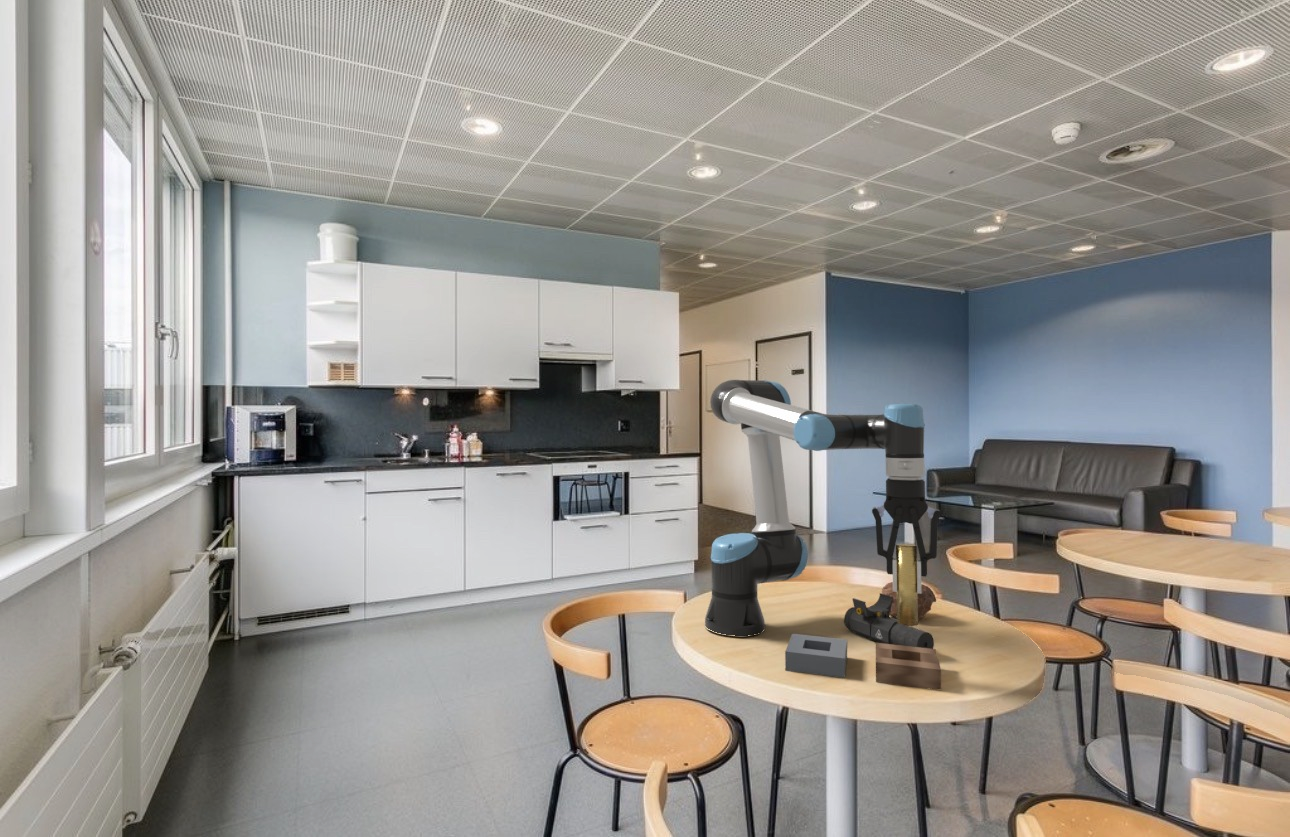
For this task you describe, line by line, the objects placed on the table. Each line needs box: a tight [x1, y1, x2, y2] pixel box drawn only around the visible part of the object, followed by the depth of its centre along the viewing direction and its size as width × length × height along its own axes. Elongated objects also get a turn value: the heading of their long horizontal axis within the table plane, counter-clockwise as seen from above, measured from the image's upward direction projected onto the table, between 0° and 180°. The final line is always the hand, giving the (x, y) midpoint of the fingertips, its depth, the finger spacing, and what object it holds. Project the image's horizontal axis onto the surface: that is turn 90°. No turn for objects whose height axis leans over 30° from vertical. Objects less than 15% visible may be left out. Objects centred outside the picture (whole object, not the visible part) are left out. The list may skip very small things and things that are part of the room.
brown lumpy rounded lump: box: [881, 581, 937, 621], centre depth 170 cm, size 13×11×10 cm
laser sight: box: [843, 592, 935, 649], centre depth 150 cm, size 10×22×10 cm, turn 28°
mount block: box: [784, 633, 848, 679], centre depth 137 cm, size 12×12×4 cm
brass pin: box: [895, 543, 919, 627], centre depth 131 cm, size 4×4×16 cm
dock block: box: [875, 642, 942, 690], centre depth 131 cm, size 12×12×4 cm
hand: (906, 590), depth 131 cm, fingers closed on brass pin, 4 cm apart
